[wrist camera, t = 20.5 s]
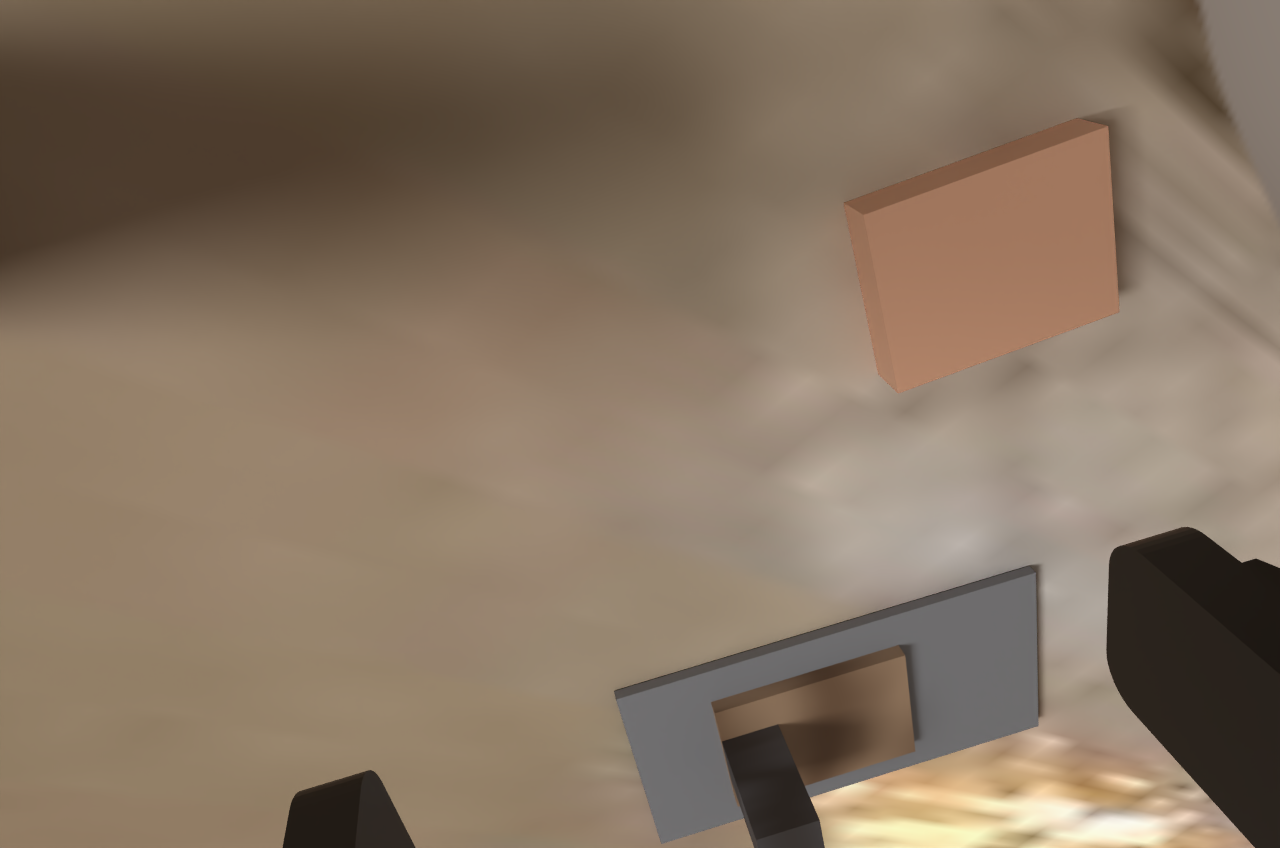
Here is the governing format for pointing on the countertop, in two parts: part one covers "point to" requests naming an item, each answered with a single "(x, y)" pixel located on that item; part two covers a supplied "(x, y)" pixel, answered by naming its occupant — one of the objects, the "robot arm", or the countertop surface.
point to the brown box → (811, 740)
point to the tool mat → (924, 630)
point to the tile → (987, 253)
